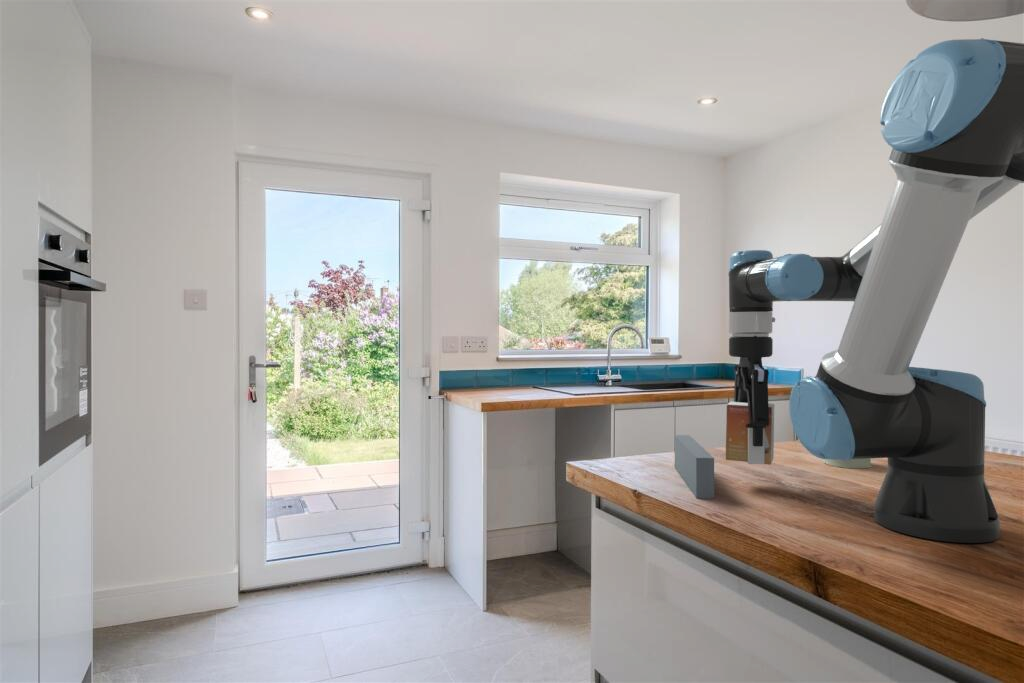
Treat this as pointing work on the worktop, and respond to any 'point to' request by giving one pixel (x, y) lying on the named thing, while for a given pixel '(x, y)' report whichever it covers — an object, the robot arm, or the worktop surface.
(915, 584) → the worktop surface
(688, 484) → the wall
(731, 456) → the small box
